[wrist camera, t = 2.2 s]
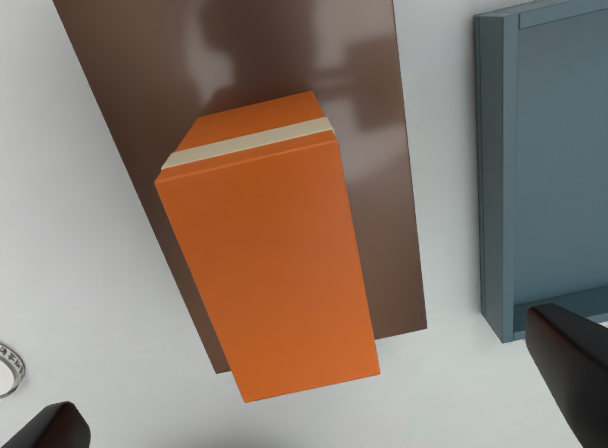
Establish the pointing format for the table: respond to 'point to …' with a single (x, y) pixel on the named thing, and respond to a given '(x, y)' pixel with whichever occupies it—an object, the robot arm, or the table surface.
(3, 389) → the white bottle cap
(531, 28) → the tray
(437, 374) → the table surface
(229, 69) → the shelf
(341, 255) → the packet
